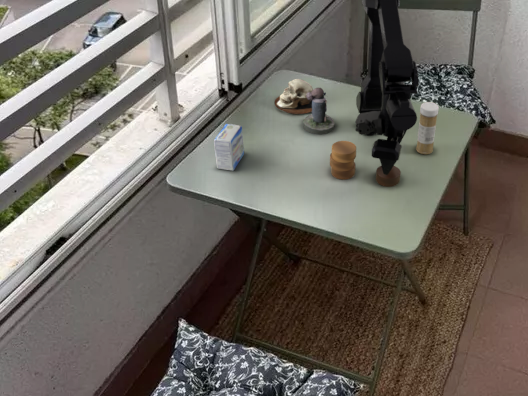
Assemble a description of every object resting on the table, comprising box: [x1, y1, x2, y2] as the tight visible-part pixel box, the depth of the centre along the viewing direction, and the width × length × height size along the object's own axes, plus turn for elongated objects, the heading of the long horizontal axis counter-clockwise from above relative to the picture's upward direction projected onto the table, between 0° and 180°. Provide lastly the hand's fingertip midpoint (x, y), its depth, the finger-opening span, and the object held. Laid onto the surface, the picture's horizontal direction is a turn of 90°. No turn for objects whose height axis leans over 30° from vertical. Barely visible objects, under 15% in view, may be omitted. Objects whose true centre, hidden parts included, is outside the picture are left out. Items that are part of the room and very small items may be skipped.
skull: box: [274, 78, 314, 115], centre depth 194 cm, size 12×10×10 cm
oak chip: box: [331, 140, 357, 163], centre depth 166 cm, size 6×6×2 cm
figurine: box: [302, 87, 335, 135], centre depth 183 cm, size 8×8×12 cm
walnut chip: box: [375, 165, 402, 188], centre depth 168 cm, size 6×6×2 cm
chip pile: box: [329, 152, 356, 181], centre depth 168 cm, size 6×6×5 cm
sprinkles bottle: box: [415, 101, 439, 155], centre depth 176 cm, size 5×5×13 cm
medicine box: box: [213, 123, 245, 172], centre depth 169 cm, size 8×4×9 cm, turn 168°
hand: (389, 163), depth 165 cm, fingers open, 9 cm apart
